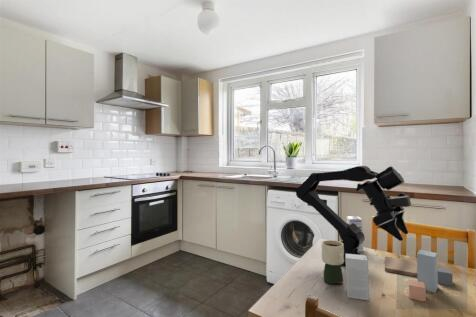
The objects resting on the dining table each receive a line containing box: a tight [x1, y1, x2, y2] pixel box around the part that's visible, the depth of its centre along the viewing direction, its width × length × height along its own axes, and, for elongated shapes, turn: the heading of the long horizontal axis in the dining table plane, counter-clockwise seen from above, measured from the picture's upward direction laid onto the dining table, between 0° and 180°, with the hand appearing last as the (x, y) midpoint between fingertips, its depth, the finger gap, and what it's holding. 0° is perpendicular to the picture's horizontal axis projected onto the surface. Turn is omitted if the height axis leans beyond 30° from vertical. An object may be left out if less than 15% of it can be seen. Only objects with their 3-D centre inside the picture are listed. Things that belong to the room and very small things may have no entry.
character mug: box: [321, 239, 344, 284], centre depth 87 cm, size 11×7×13 cm, turn 14°
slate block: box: [416, 249, 439, 294], centre depth 81 cm, size 4×4×11 cm
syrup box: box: [346, 215, 364, 252], centre depth 116 cm, size 6×6×14 cm
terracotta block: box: [407, 279, 427, 303], centre depth 76 cm, size 4×4×4 cm
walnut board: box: [384, 256, 417, 278], centre depth 96 cm, size 12×12×1 cm
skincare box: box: [345, 254, 370, 301], centre depth 77 cm, size 6×4×12 cm
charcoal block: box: [438, 266, 454, 287], centre depth 85 cm, size 4×4×4 cm
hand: (404, 236), depth 87 cm, fingers open, 9 cm apart
